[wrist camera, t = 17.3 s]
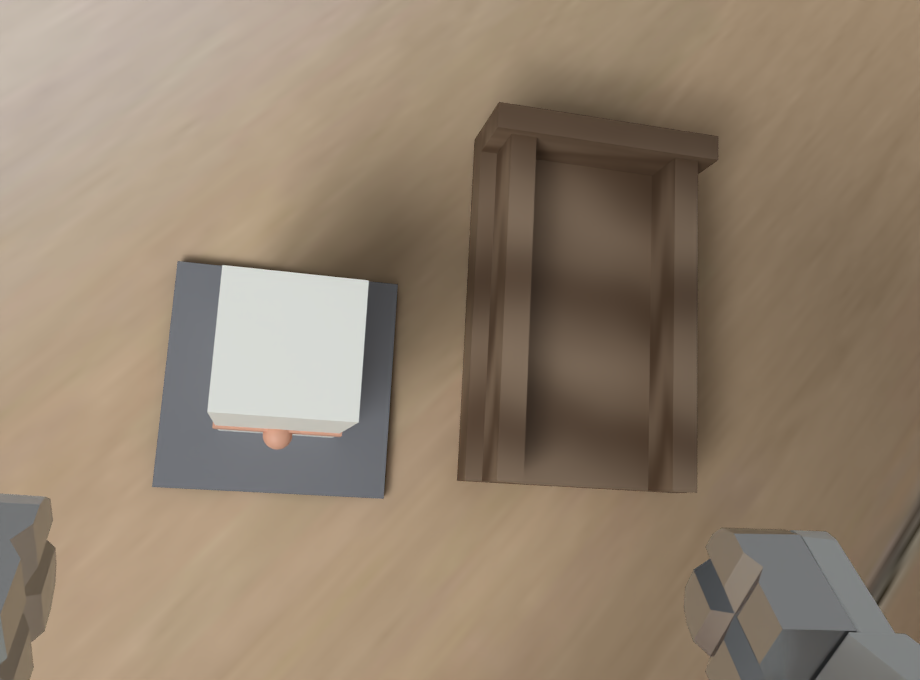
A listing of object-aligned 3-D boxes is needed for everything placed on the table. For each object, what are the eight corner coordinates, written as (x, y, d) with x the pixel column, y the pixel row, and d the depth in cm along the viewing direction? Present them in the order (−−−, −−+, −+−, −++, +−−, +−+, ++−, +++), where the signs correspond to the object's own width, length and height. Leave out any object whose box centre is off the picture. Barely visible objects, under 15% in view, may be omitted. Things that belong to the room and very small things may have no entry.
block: (333, 455, 39) (359, 445, 30) (213, 448, 38) (201, 436, 28) (342, 327, 40) (372, 278, 31) (227, 316, 39) (219, 261, 29)
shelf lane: (671, 492, 43) (718, 493, 39) (457, 480, 41) (481, 480, 36) (674, 169, 46) (718, 136, 42) (474, 139, 44) (499, 102, 39)
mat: (382, 498, 40) (383, 498, 39) (153, 486, 38) (152, 486, 37) (395, 286, 42) (397, 284, 41) (178, 264, 39) (177, 261, 39)
